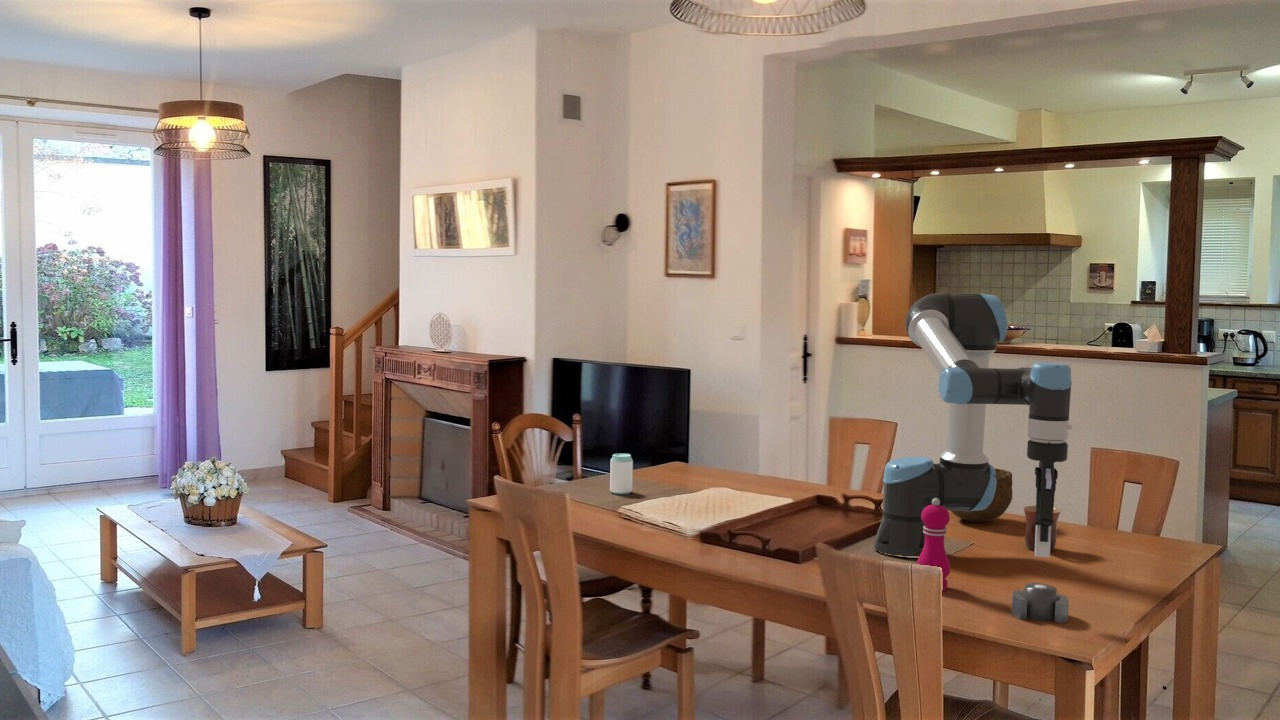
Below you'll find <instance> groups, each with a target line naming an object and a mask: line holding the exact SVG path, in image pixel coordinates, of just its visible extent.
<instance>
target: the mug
mask: <svg viewBox="0 0 1280 720" xmlns="http://www.w3.org/2000/svg"><path fill="white" fill-rule="evenodd" d="M1023 511H1024V515H1025V516H1024V517H1025V533H1024V541H1025V547H1026V548H1028V550H1030V551H1031V550H1032V551H1034V552H1035V535H1036V525H1034V521H1037V520H1036V515H1035V512H1036V505H1027V506H1024V507H1023ZM1060 515H1061V510H1060V509H1058V508H1055V507H1054V508H1053V520H1054V523H1053V524H1052V525H1051V543H1050V552H1053V550H1055V548H1056V545H1057V527H1058V525H1057V524H1058V520H1059V517H1060Z"/></svg>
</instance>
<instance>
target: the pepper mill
mask: <svg viewBox="0 0 1280 720" xmlns="http://www.w3.org/2000/svg"><path fill="white" fill-rule="evenodd" d="M932 504H933V505H929V506H926V507H925V508H924V509H923V511H922V514H921V519H922V521H923V523H924V524H925V526H923V528H924V530H923V533H924V534H925V544H924V547H923V550H922V552H921V554H920V556H919V558H917V560H916V565H917V564H920V565H930V566H937V567H941V568H942V572H943V591H942V592H944V591H947V589H948V580H947V579H946V578H947V577H948V576H949V575H950V573H951V564H950V559H949V557H948V555H947V553H946V548H945V536H946V535H947V533H948V532H947V529H948V528H947V527H946V526H947V525H948V524H949V522H950V519H951V518H950V513H949V510H947V509H946V508H944V507H943V506H940V505H939V504H940V500H939V499H938V498H934V499H933V500H932Z"/></svg>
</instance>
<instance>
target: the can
mask: <svg viewBox="0 0 1280 720" xmlns="http://www.w3.org/2000/svg"><path fill="white" fill-rule="evenodd" d="M609 467H610V470H609V474H610V475H609V479H610V480H609V491H610V492H611V493H612V494H613V495H628V494H631V493H632V492H633V487H634V486H633V482H634V481H633V479H634V478H633V477H634V475H633V474H634V460H633V458H632V455H631V454H630V453H613V454H612V457H611V458H610V465H609Z"/></svg>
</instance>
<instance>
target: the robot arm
mask: <svg viewBox="0 0 1280 720" xmlns="http://www.w3.org/2000/svg"><path fill="white" fill-rule="evenodd" d="M1006 312H1007V311H1006V308H1005V306H1004V304H1003V301H1002V300H1001V299H1000V298H999V297H998V296H996V295H994V294H988V293H987V294H986V293H981V292H979V293H977V292H976V293H944V292H938V293H937V292H936V293H930V294H927V295H925V296H923V297H921V298H919V299H917V300H916V301H915V302H914V303H913V304H912V305H911V307H910V308H909V310H908V311H907V313H906V316H905V321H904V328H905V331H906V334H907V336H908V337H909V339H910V341H912V343H914V344H915V345H916V346H918V347H921V348H922V351H923V352H924V353H925V354H926V356H927V357H928V359H929V360H930V361H931V364H932V365H933V367H934V368H935V369H936V371H937V372H938V374H939V378H938V392H939V395H940V399H941V400H942V401H943V402H944V403H947V404H949V406H948V407H949V408H948V410H949V411H948V425H947V437H946V439H947V441H946V449H945V450H944V451H943V452H941V454H939V463H934V462H933V459H932V458H931V457H926V456H905V457H899V458H894V459H892V460H890V461H888V462H887V463H886V464H885V466H884V473H883V478H882V482H883V491H882V493H883V494H882V516H881V517H882V519H881V522H880V525H879V527H878V530H877V533H876V534H875V537H874V541H873V543H874V545H873V547H874V548H875V549H876V550H878V551H880V552H882V553H887V554H891V555H902V556H920V554H921V552H922V550H923V547H924V544H925V534H924V533H923V530H924V528H923V526H925V524H924V523H923V521H922V519H921V514H922V511H923V509H924V508H925V507H926V506H929V505H933V504H932V500H933V499H934V498H938V499H939V500H940V504H939V505H940V506H943V507H944V508H946V509H947V511H948V512H949V511H951V512H952V511H967V512H969V511H977V510H984V509H986V508H987V507H988V506H989V505H990V504H991V502H992V500H993V498H994V495H995V491H996V478H995V477H996V472H995V467H994V466H993V465H991V464H990V463H989V461H990V460H989V457H987V456H986V454H985V453H984V442H985V441H984V439H985V425H986V424H985V422H986V410H987V405H1011V406H1012V405H1020V406H1021V405H1022V406H1029V407H1028V409H1029V410H1028V411H1029V412H1028V421H1027V437H1028V438H1029V439H1028V440H1027V444H1026V445H1027V448H1026V456H1027V458H1028V459H1030V460H1032V461H1035V462H1036V461H1037V462H1038V467H1037V466H1035V467H1034V474H1035V488H1036V493H1035V495H1036V497H1035V499H1036V501H1035V506H1036V512H1035V515H1036V520H1037V521H1034V525H1036V535H1035V551H1034V557H1036V558H1047V559H1049V558H1051V551H1050V543H1051V525H1052V524H1053V523H1054V520H1053V508H1055V507H1054V505H1055V494H1056V493H1055V492H1056V486H1057V480H1058V475H1059V474H1058V472H1059V471H1058V470H1057V468H1055V463H1062V462H1066V461H1067V460H1068V449H1069V448H1068V447H1069V444H1068V443H1067V442H1066V441H1067V440H1068V439H1069V431H1068V430H1072V428H1073V426H1072V424H1069V423H1070V422H1069V421H1070V407H1071V392H1072V391H1071V390H1072V384H1073V381H1072V368H1071V367H1070V365H1068V364H1067V363H1060V362H1059V363H1058V362H1044V361H1043V362H1035V363H1033V364H1032V365H1031V367H1029V366H1028V367H1023V366H1022V367H1015V368H993V367H990V368H989V363H990V357H991V355H993V354H994V353H995V352H996V351H997V346H998V345H997V344H998V343H1002V342H1003V341H1005V339H1006V337H1007V336H1006V335H1007V332H1008V318H1007V313H1006ZM874 548H873V549H874ZM875 549H874V550H875ZM876 550H875V551H876Z"/></svg>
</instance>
